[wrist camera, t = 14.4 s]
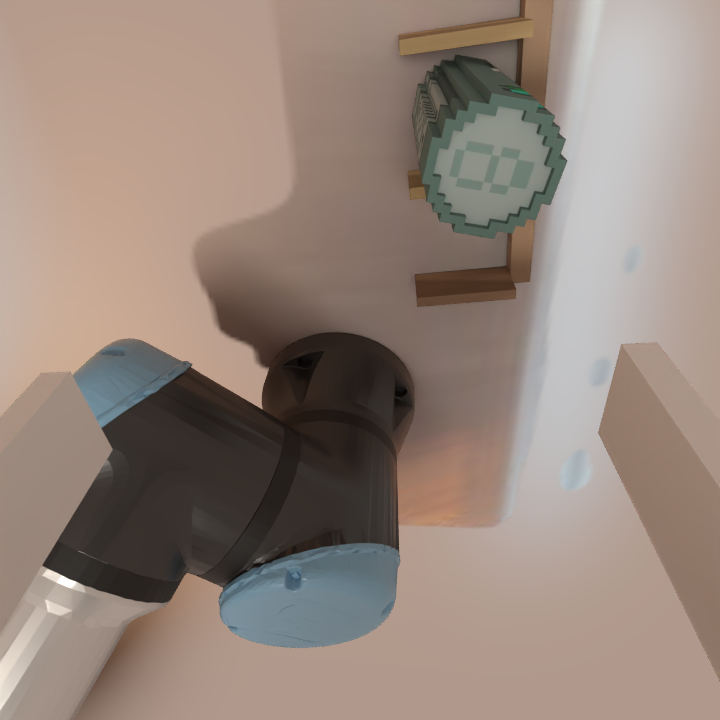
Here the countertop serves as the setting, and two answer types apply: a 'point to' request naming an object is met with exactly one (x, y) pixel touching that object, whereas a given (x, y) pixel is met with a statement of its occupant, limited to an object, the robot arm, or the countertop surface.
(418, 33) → the notch rack
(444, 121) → the can
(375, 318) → the countertop surface
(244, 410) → the robot arm
